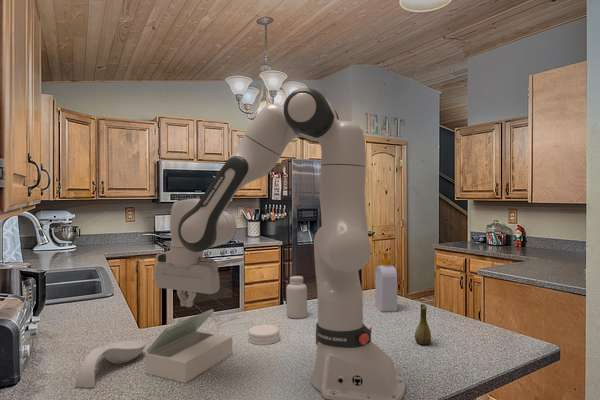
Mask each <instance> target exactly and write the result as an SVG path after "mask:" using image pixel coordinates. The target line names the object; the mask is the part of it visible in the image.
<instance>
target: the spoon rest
mask: <svg viewBox="0 0 600 400" xmlns="http://www.w3.org/2000/svg"><path fill="white" fill-rule="evenodd" d="M145 347H146V342H145V341H142V340H120V341H115V342H114V341H113V342H109V343H106V344H104V345H102V346H100V347H99V346H98V347H95V348H94V349H92V350H90V352H89V353H88V355H87V356H86V357H85V359H84V360H83V362H82V364H81V365H80V368H79V370H78V372H77V377H76V379H75V388H81V389H82V388H84V389H93V388H95V387H96V385H95V384H96V383H95V382H96V381H95V377H96V376H95V372H96V366H97V364H98V362H99V360H100V358H101V357H103V358H104V359H105V360H107V361H109V362H110V363H111V364H115V365H116V364H119V365H120V364H126V363H128V362H130V361H133V360H134V359H136V358H137V357H138V356H139V355H141V353H143V351H144V349H145ZM125 362H126V363H125Z"/></svg>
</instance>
